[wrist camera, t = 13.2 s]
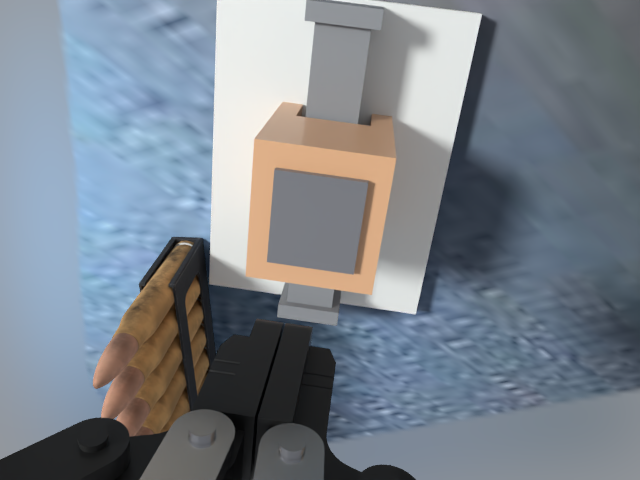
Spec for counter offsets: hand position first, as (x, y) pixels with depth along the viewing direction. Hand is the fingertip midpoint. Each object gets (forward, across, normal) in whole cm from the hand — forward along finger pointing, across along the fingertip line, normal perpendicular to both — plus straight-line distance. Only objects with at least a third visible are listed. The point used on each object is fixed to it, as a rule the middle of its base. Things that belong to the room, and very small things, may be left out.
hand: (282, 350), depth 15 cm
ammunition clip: (+17, +7, +11) cm, 21 cm away
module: (+15, 0, 0) cm, 15 cm away
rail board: (+16, 0, 0) cm, 16 cm away
